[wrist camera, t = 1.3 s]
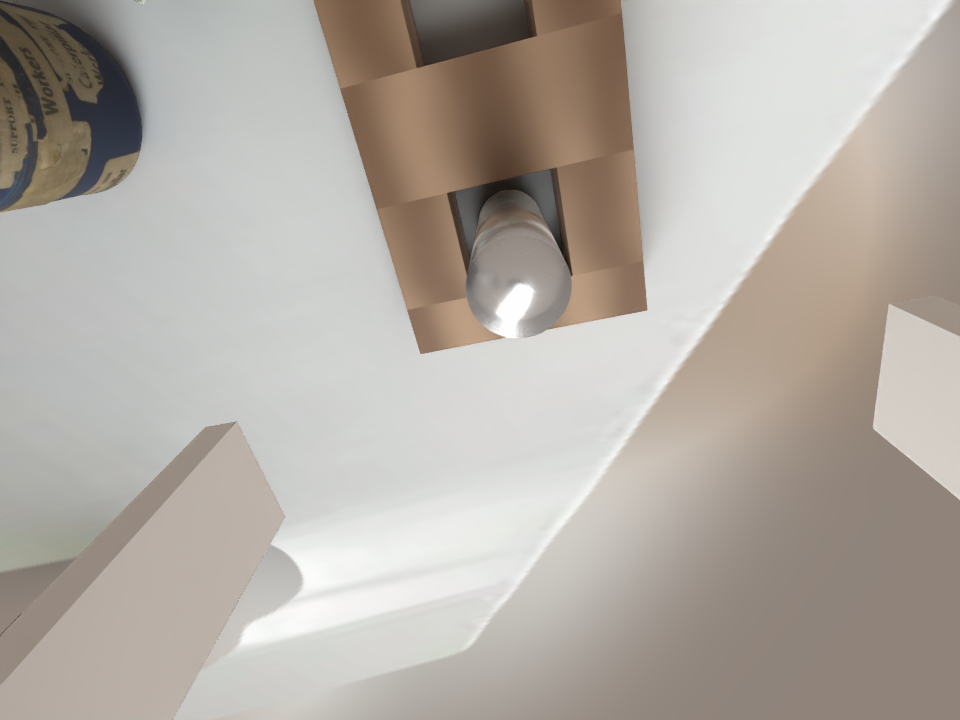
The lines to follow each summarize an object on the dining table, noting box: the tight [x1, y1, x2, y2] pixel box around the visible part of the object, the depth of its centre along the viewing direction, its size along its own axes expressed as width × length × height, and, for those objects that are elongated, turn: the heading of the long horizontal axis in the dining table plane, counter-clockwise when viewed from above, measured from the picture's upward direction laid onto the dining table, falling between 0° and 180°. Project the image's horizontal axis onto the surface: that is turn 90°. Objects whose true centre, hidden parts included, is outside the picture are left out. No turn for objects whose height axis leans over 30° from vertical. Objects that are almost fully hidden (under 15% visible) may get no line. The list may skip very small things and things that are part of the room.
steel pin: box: [466, 190, 572, 338], centre depth 25 cm, size 4×4×14 cm
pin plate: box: [314, 0, 647, 354], centre depth 27 cm, size 14×24×4 cm, turn 13°
